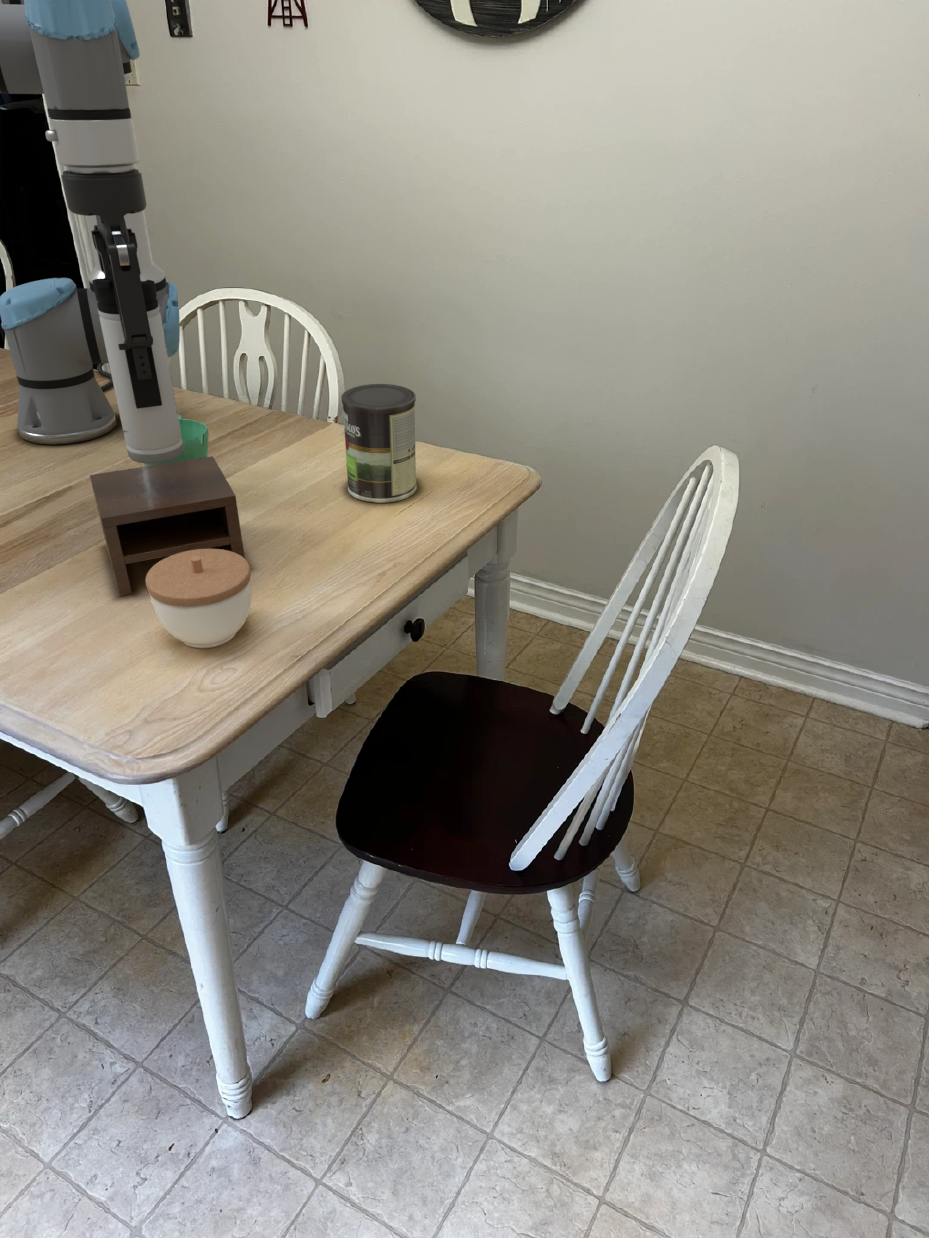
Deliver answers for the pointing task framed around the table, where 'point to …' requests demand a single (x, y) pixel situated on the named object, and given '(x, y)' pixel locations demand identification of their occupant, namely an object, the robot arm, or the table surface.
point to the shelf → (165, 512)
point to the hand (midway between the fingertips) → (144, 396)
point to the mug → (191, 441)
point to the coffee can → (380, 442)
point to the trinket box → (201, 595)
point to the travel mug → (145, 428)
